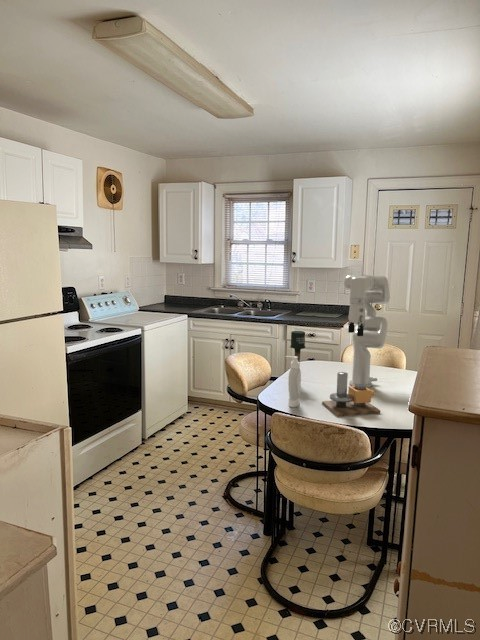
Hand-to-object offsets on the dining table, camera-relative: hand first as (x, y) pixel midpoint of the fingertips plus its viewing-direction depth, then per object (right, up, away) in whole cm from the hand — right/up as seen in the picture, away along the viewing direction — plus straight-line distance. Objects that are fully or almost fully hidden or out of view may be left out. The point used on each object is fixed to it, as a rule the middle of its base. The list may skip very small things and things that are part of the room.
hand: (355, 334), depth 245 cm
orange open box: (0, -32, -13) cm, 35 cm away
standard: (-11, -35, -16) cm, 39 cm away
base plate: (-6, -36, -14) cm, 39 cm away
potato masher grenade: (-27, -29, +27) cm, 48 cm away
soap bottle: (-34, -35, -9) cm, 50 cm away
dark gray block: (-1, -34, -14) cm, 37 cm away
